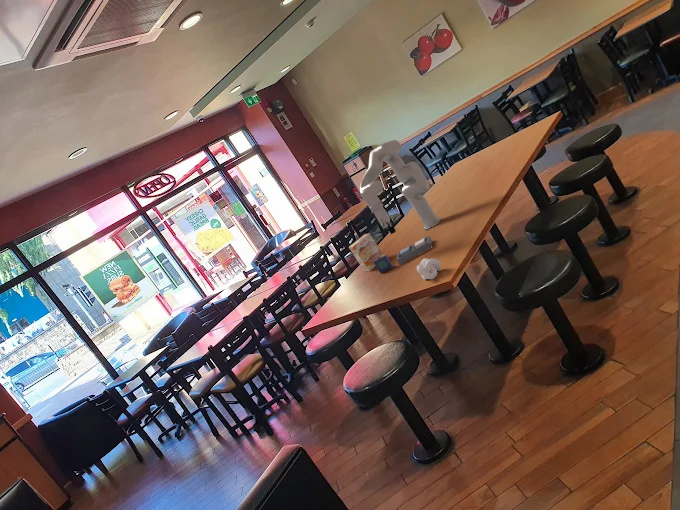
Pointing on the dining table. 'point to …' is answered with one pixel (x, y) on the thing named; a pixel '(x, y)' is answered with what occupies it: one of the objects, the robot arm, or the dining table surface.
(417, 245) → the white key
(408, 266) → the dining table surface
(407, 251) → the blue key
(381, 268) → the dark blue boxy piece
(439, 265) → the white rounded lump
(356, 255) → the coffeecake box
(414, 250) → the key panel
